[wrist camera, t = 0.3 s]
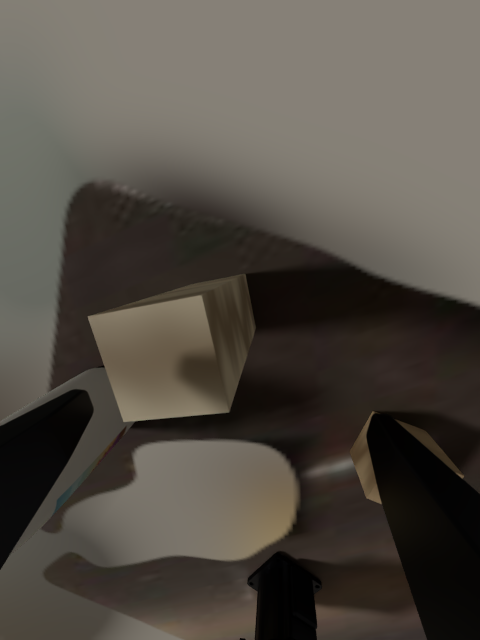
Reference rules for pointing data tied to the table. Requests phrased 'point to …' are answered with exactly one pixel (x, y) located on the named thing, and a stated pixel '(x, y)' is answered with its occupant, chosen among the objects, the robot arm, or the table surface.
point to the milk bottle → (91, 447)
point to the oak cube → (365, 464)
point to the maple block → (177, 349)
